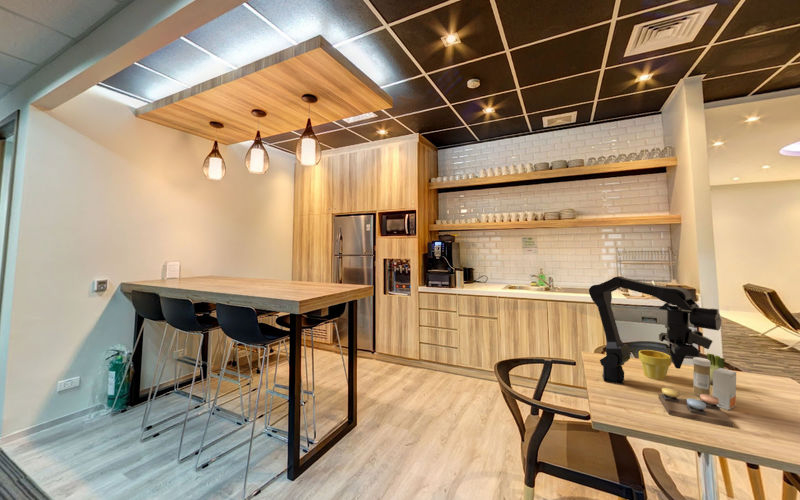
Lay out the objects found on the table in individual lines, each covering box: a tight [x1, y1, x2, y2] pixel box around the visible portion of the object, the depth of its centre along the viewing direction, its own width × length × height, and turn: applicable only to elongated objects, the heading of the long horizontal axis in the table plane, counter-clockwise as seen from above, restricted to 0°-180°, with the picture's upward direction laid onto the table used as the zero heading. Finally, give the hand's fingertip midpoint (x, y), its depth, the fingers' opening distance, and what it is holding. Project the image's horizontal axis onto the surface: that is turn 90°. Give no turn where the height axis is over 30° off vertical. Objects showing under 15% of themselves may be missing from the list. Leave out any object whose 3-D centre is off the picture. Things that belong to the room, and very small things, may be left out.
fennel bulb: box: [706, 352, 726, 386], centre depth 120 cm, size 6×5×12 cm
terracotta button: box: [699, 394, 719, 405], centre depth 101 cm, size 4×4×2 cm
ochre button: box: [661, 387, 680, 398], centre depth 105 cm, size 4×4×2 cm
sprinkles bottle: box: [692, 357, 711, 398], centre depth 111 cm, size 5×5×14 cm
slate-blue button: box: [686, 398, 706, 410], centre depth 98 cm, size 4×4×2 cm
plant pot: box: [638, 349, 672, 381], centre depth 127 cm, size 10×10×10 cm
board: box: [658, 393, 734, 428], centre depth 100 cm, size 15×12×2 cm
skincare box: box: [712, 368, 737, 411], centre depth 104 cm, size 6×4×12 cm
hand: (677, 368), depth 106 cm, fingers closed
